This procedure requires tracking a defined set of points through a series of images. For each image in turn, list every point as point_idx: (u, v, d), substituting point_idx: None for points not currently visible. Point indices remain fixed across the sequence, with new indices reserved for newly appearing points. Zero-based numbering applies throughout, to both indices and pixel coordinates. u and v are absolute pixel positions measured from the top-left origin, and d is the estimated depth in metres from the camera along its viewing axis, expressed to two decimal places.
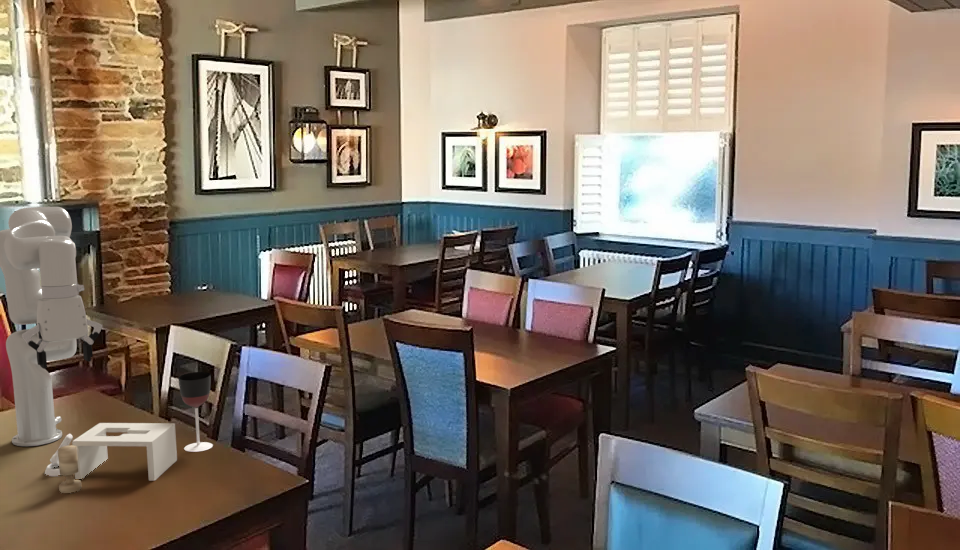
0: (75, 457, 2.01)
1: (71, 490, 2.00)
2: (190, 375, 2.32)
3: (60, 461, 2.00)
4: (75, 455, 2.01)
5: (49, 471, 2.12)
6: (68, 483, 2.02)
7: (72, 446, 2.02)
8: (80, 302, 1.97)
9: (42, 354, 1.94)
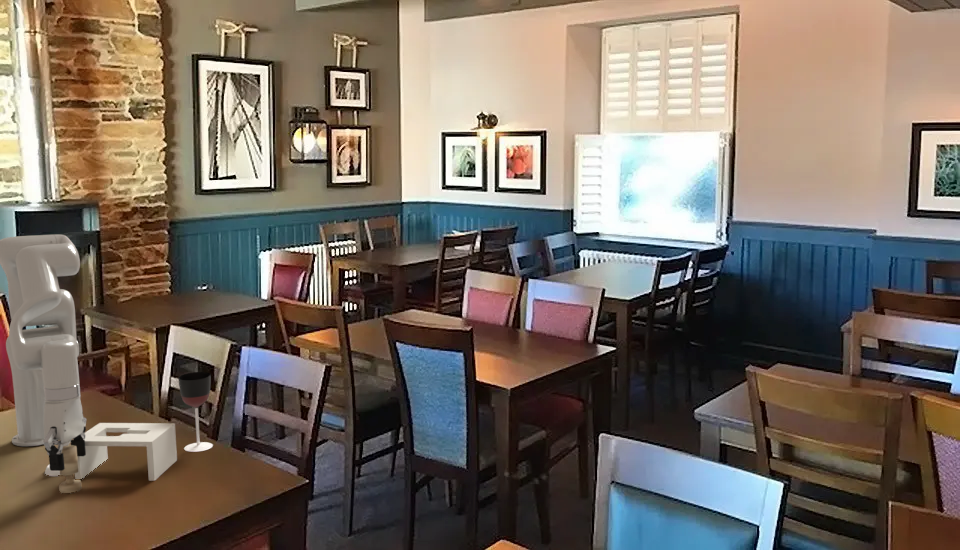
0: (75, 457, 2.01)
1: (71, 490, 2.00)
2: (190, 375, 2.32)
3: None
4: (75, 455, 2.01)
5: (49, 471, 2.12)
6: (68, 483, 2.02)
7: (72, 446, 2.02)
8: (79, 399, 2.03)
9: (60, 456, 1.95)
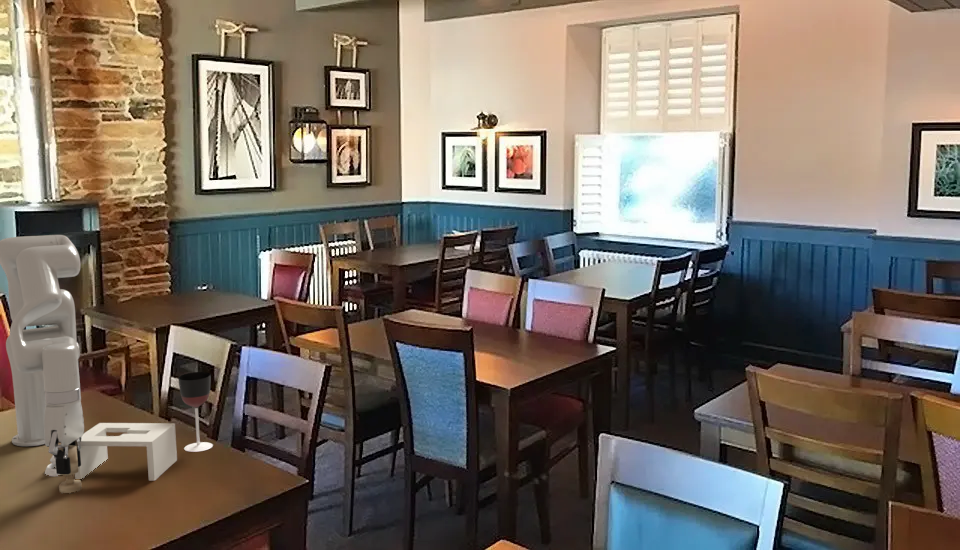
0: (75, 457, 2.01)
1: (71, 490, 2.00)
2: (190, 375, 2.32)
3: None
4: (75, 455, 2.01)
5: (49, 471, 2.12)
6: (68, 483, 2.02)
7: (72, 446, 2.02)
8: (80, 402, 2.03)
9: (67, 460, 1.99)
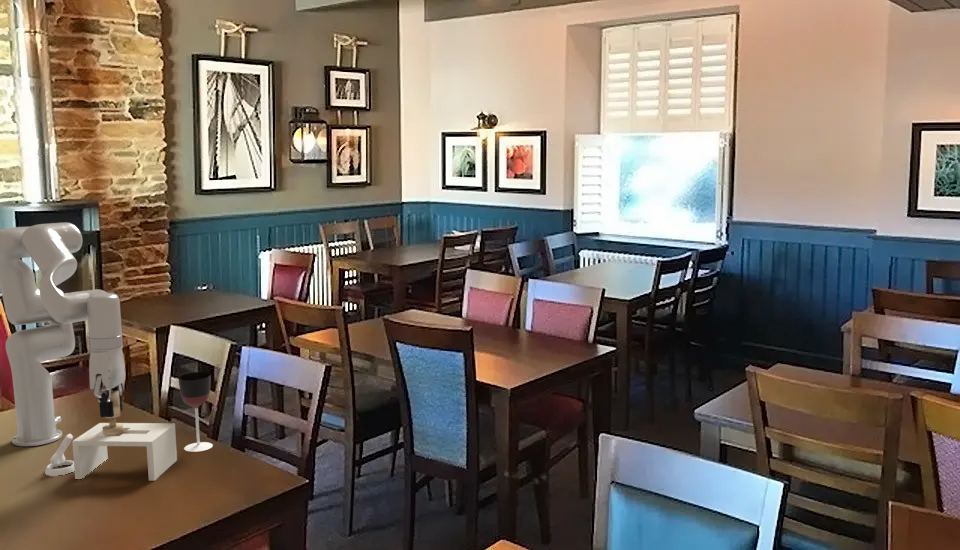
0: (118, 401, 2.12)
1: (114, 432, 2.12)
2: (190, 375, 2.32)
3: None
4: (118, 399, 2.12)
5: (49, 471, 2.12)
6: (111, 426, 2.13)
7: (115, 391, 2.13)
8: (121, 349, 2.14)
9: (110, 404, 2.10)
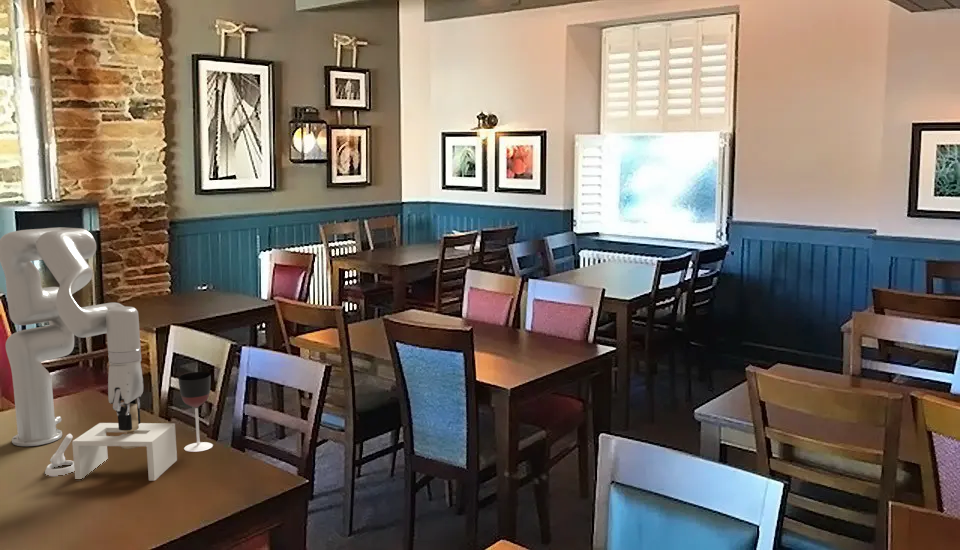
0: (136, 414, 2.13)
1: None
2: (190, 375, 2.32)
3: None
4: (136, 412, 2.13)
5: (49, 471, 2.12)
6: None
7: (133, 404, 2.14)
8: None
9: (129, 417, 2.10)
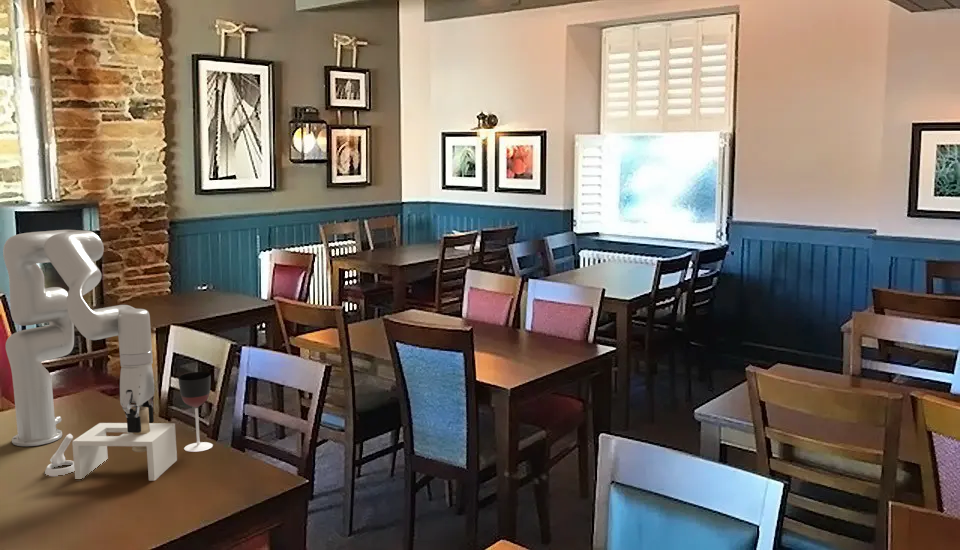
0: (147, 417, 2.13)
1: (144, 449, 2.12)
2: (190, 375, 2.32)
3: None
4: (147, 416, 2.13)
5: (49, 471, 2.12)
6: None
7: (144, 407, 2.14)
8: (151, 365, 2.15)
9: (138, 419, 2.09)
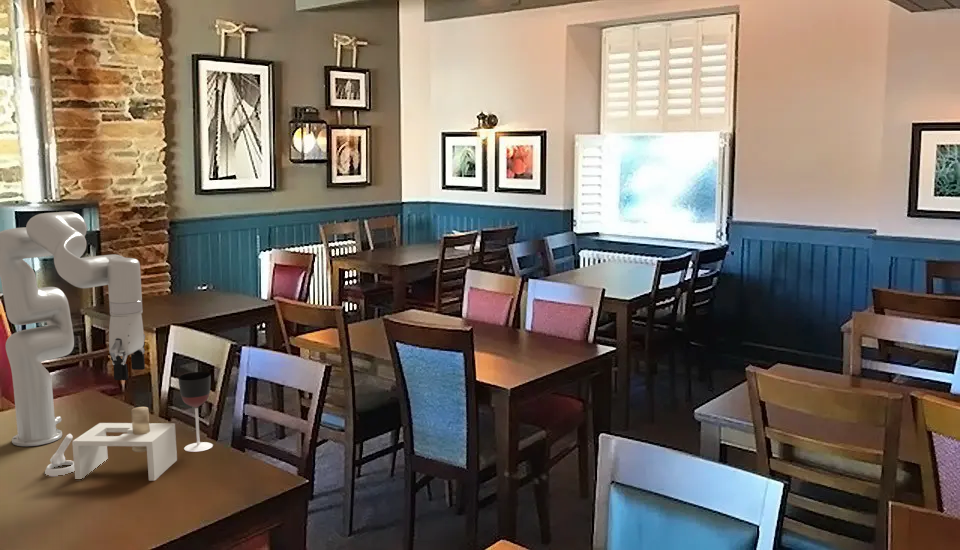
0: (147, 417, 2.13)
1: (144, 449, 2.12)
2: (190, 375, 2.32)
3: (133, 421, 2.11)
4: (147, 416, 2.13)
5: (49, 471, 2.12)
6: None
7: (144, 407, 2.14)
8: (141, 315, 2.14)
9: (124, 367, 2.07)
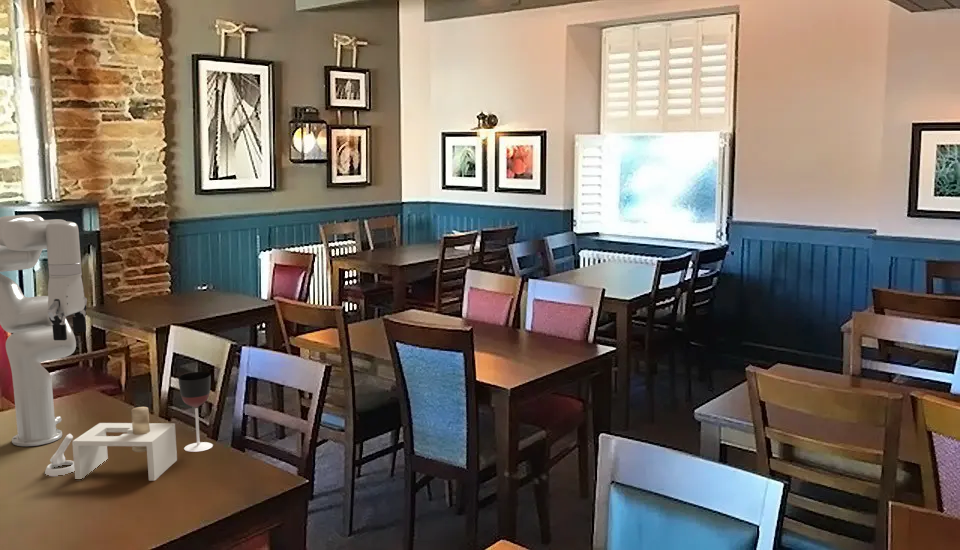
0: (147, 417, 2.13)
1: (144, 449, 2.12)
2: (190, 375, 2.32)
3: (133, 421, 2.11)
4: (147, 416, 2.13)
5: (49, 471, 2.12)
6: None
7: (144, 407, 2.14)
8: (81, 278, 2.19)
9: (63, 327, 2.12)
